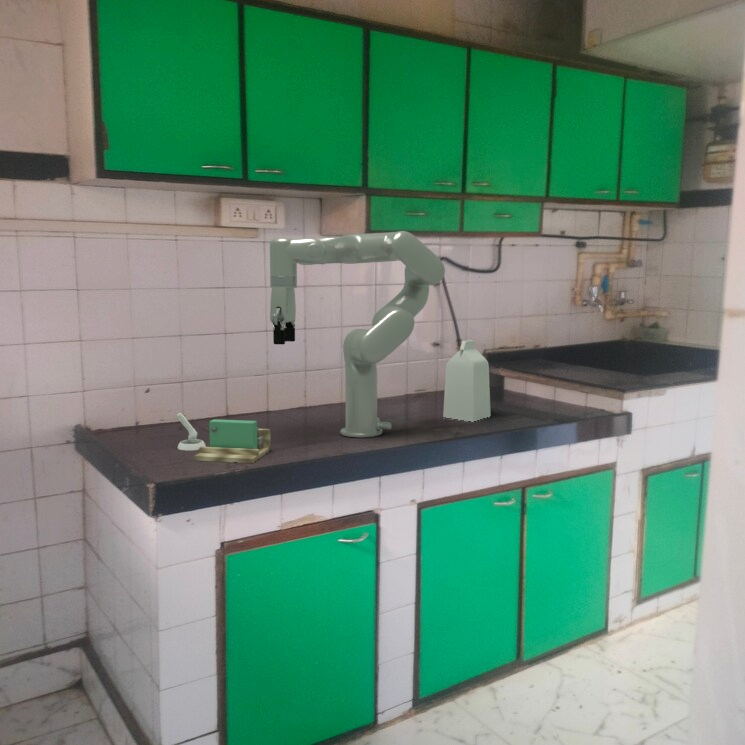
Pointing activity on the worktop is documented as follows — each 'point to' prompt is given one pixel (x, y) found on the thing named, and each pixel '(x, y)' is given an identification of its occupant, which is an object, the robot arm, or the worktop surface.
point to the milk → (467, 385)
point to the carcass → (237, 451)
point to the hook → (192, 442)
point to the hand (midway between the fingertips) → (284, 342)
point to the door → (233, 434)
